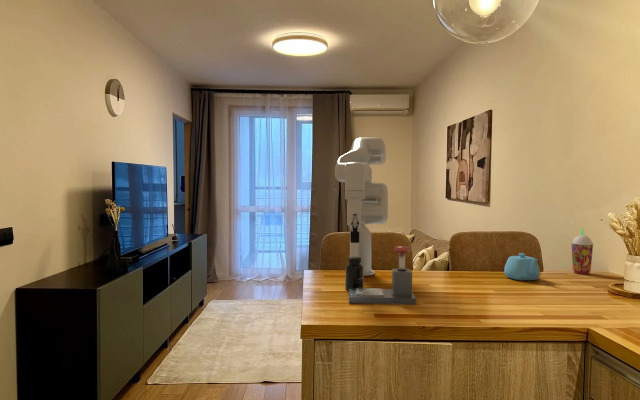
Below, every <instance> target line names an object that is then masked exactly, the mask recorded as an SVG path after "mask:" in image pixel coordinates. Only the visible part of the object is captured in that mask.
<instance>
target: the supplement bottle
mask: <svg viewBox="0 0 640 400" xmlns="http://www.w3.org/2000/svg"><path fill="white" fill-rule="evenodd" d="M347 262H348V263H347V264H346V265H345V271H344V272H345V278H344V279H345V283H344V285H345V286H344V287H345V289H346V290H348V291H349V289H356V288H364V276H363V273H364V267H363V265H361V264H360V263H361V257H350V256H348V258H347Z"/></svg>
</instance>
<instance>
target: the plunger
mask: <svg viewBox="0 0 640 400" xmlns="http://www.w3.org/2000/svg"><path fill="white" fill-rule="evenodd" d="M394 252H395V253H398V269H399V271H405V269H406V253H410V246H406V245H397V246H396V245H395V246H394Z"/></svg>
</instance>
